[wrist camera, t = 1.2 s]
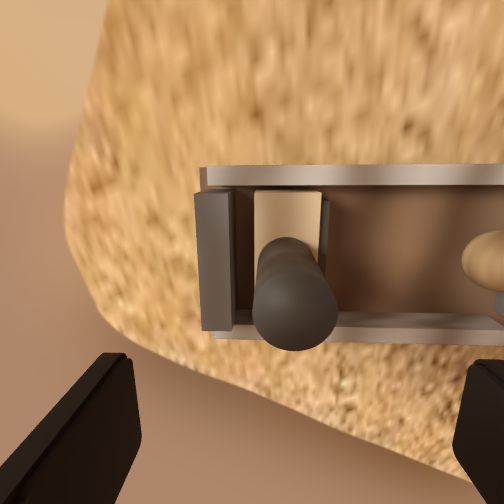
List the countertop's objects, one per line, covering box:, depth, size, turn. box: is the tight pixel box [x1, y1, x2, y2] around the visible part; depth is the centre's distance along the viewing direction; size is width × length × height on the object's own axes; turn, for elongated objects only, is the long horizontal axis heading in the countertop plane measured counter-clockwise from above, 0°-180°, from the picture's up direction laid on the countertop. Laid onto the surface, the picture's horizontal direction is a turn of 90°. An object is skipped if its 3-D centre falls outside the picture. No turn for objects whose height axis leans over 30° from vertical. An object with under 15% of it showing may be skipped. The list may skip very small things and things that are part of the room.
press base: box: [194, 164, 504, 346], centre depth 20 cm, size 24×12×8 cm, turn 90°
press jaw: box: [252, 189, 338, 351], centre depth 17 cm, size 5×9×10 cm, turn 0°
